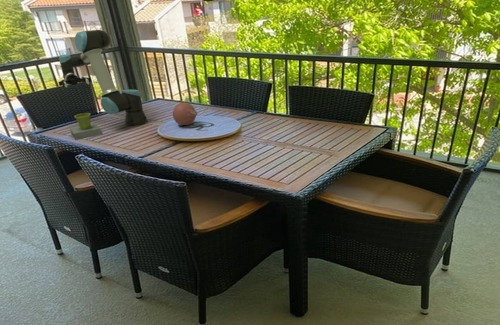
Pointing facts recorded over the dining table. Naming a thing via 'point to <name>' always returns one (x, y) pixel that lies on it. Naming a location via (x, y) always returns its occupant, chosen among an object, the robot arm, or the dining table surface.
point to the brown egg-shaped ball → (184, 114)
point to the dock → (85, 131)
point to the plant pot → (83, 120)
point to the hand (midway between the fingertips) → (77, 83)
